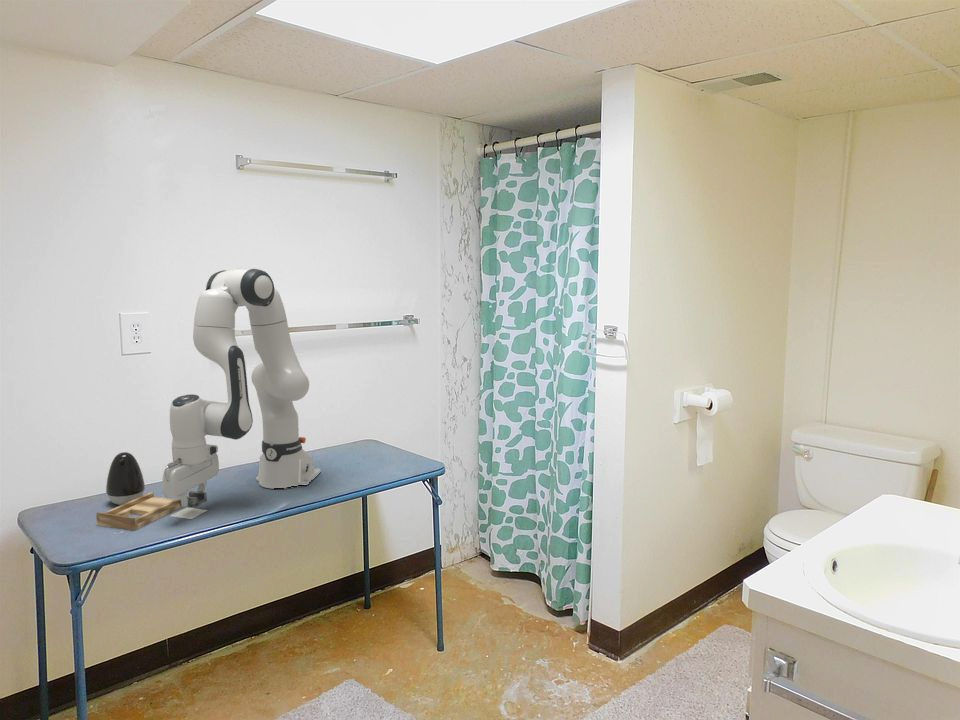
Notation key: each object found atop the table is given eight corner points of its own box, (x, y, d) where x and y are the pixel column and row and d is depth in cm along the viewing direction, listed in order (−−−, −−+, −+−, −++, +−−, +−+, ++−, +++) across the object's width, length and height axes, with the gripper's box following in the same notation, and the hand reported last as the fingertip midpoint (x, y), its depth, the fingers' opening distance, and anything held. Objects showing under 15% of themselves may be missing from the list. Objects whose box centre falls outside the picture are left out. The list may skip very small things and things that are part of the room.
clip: (191, 499, 199) (190, 491, 199) (206, 501, 198) (206, 492, 198) (180, 505, 195) (179, 497, 194) (195, 507, 193) (195, 498, 193)
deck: (151, 504, 206) (150, 489, 205) (186, 509, 203) (185, 494, 202) (97, 529, 187) (96, 513, 186) (134, 534, 184) (133, 518, 183)
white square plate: (186, 511, 201) (186, 507, 201) (207, 514, 199) (207, 510, 199) (169, 520, 194) (169, 515, 194) (191, 523, 192) (191, 518, 192)
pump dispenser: (103, 509, 201) (100, 458, 199) (111, 497, 211) (108, 448, 208) (142, 507, 204) (139, 456, 201) (148, 495, 214) (145, 446, 211)
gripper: (174, 466, 183) (178, 516, 186) (221, 444, 203) (224, 490, 205) (154, 464, 185) (158, 514, 187) (202, 443, 204) (205, 488, 207)
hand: (193, 501), depth 196 cm, fingers closed on clip, 5 cm apart
